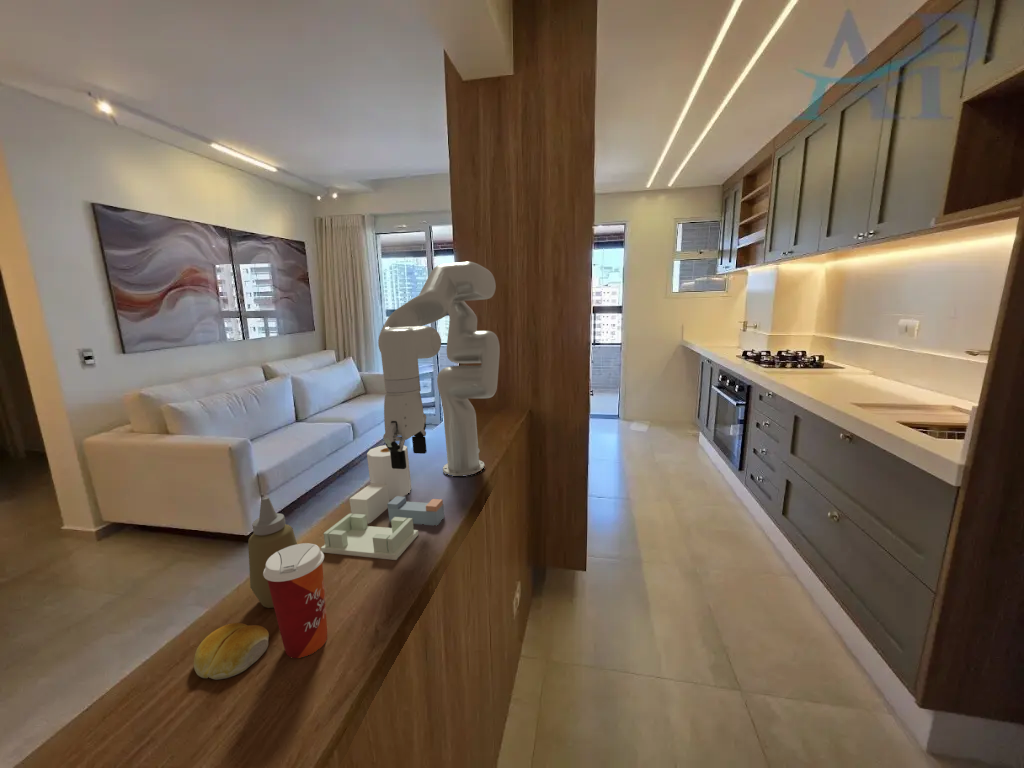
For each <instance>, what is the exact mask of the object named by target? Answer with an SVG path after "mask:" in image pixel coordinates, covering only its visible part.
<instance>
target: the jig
mask: <svg viewBox="0 0 1024 768" xmlns="http://www.w3.org/2000/svg"><path fill="white" fill-rule="evenodd" d="M390 525H391V527H384V526H372V525H371V526H370V525H368V524H367V518H366V515H364V514H351V512H349V513H347V515H345V516H344V517H343V518H341V519H340V520H339V521H337V522H336V523H335V524H333V525H332V526H330V528H328V529H327V530H326V531H324V532H323V540H324V545H322V546H321V547H320V551H322V552H323V554H324V553H325V554H333V555H334V554H335V555H342V556H343V555H344V556H353V557H362V558H373V559H383V560H393V561H397V560H398V559H399V558H400V556H401V555H402V554H403V553H404V552H405V550H407V548H408V547H409V546H410V545H411V544H412V543H413V542H414V541H415V539H416V538H417V537H418V536H419V529H414V524H413V518H408V519H407V518H404V517H394V518H393V519H392V520H391V522H390Z"/></svg>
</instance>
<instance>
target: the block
mask: <svg viewBox="0 0 1024 768" xmlns="http://www.w3.org/2000/svg"><path fill="white" fill-rule="evenodd" d="M348 500H349V505H350V514H364V515H366V518H367V525H369V524H371V523H372V522H374V520H376V519H377V518H378V517H380V515H381V514H383V513H384V512H385V511H386V510H388V505H387V504H388V503H389V502H390V500H389V493H388V484H381V483H371V484H368V485H367V486H366V487H364V488H362V489H361V490H359V491H358V492H357V493H354V495H352V496H351V497H350V498H349V499H348Z"/></svg>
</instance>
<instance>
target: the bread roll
mask: <svg viewBox="0 0 1024 768" xmlns="http://www.w3.org/2000/svg"><path fill="white" fill-rule="evenodd" d="M269 634H270V633H269V631H268V630H267V628H266V627H264V626H262V625H259V624H257V625H256V624H255V625H253V624H250V625H247V624H245V623H242V622H231V623H228V624H227V623H226V624H225V625H222V626H221V627H219V628H216V629H215V630H213V631H211V633H209V634H208V635H207V636H205V638H204V639H203V640H202V641H201V642H200V643H199V645H198V647H197V648H196V650H195V654H194V658H193V669H194V671H195V673H196V675H197V676H198V677H200V678H202V679H208V677H209V679H212V680H217V681H218V680H224V679H228V678H231V677H234V676H237V675H240V674H241V673H243V672H245V671H246V670H247V669H249V668H250V667H251V666H252V665H253V664H255V663H256V662H257V661H258V660H260V658H261V656H263V655H264V653H265V652H266V651H267V649H268V646H269V637H270V635H269Z"/></svg>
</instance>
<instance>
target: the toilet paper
mask: <svg viewBox="0 0 1024 768" xmlns="http://www.w3.org/2000/svg"><path fill="white" fill-rule="evenodd" d="M397 444H398V445H399V443H397ZM403 450H405V458H406V468H405V469H393V468H392V464H391V455H390V452H389V450H388V448H387V446H386V444H383V445H379V446H376V447H373V448H369V450H368V452H367V453H366V458H367V466H368V475H369V483H370V484H371V483H381V484H388V493H389V501H391V500H392V499H394V498H395V497H396V496H401V497H406V496H407V495H408V493H409V494H410V492H411V491H410V490H412V479H411V470H410V461H409V451H408V446H406V445H404V446H403ZM370 480H371V481H370Z"/></svg>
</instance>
